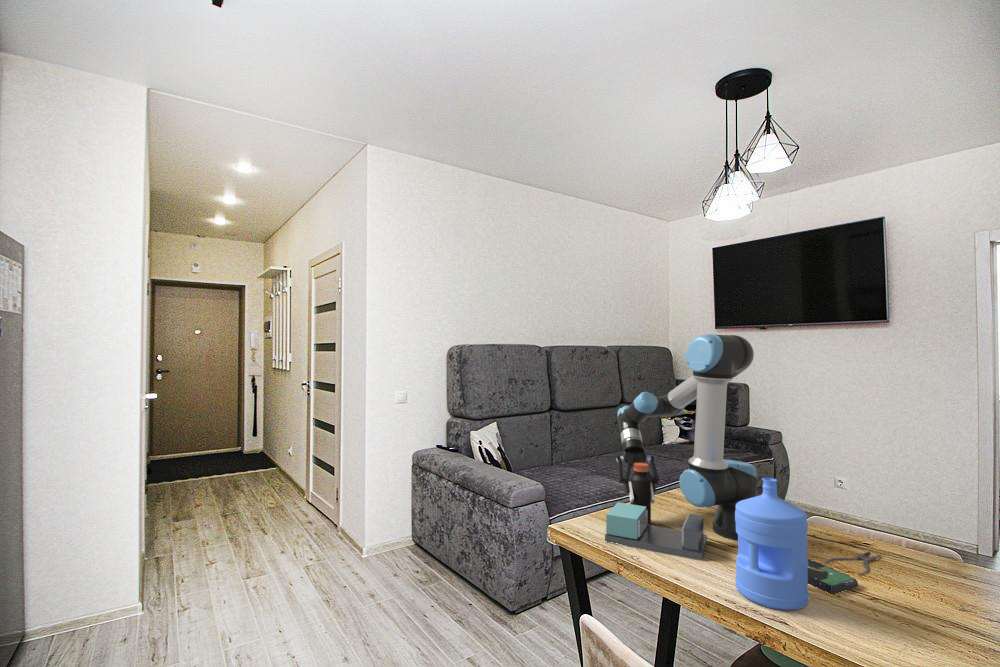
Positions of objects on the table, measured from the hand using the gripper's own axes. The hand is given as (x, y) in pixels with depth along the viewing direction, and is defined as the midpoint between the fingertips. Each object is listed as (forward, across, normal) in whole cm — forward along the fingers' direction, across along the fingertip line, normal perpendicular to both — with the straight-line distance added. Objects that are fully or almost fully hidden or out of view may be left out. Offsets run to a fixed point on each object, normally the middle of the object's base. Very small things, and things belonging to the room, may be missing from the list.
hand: (642, 501), depth 167 cm
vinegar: (+4, 0, -9) cm, 9 cm away
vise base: (+15, -1, +4) cm, 16 cm away
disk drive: (+32, -37, +19) cm, 52 cm away
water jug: (+38, -20, +26) cm, 51 cm away
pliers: (+23, -54, +10) cm, 59 cm away
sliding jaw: (+11, +7, +2) cm, 13 cm away
